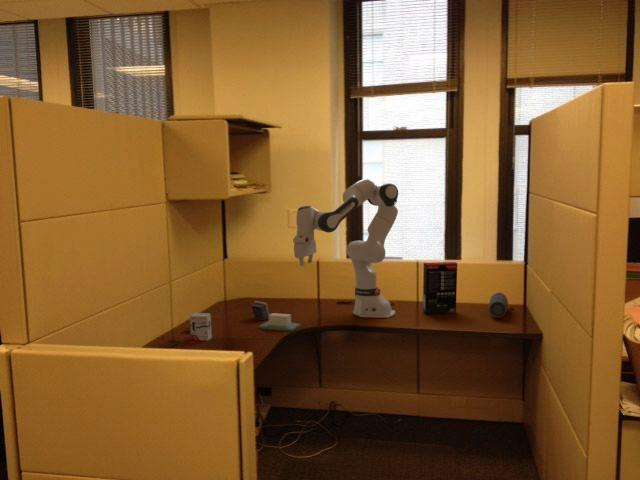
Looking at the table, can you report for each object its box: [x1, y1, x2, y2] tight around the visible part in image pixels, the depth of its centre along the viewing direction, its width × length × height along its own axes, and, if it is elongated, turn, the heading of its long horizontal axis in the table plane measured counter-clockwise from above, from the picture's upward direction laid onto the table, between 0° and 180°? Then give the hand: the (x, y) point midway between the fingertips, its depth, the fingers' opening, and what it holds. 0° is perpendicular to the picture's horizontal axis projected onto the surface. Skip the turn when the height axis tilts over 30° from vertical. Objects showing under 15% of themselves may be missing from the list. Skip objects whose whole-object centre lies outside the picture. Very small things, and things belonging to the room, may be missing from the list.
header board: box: [258, 320, 302, 332], centre depth 284 cm, size 18×10×5 cm, turn 67°
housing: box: [268, 312, 292, 327], centre depth 284 cm, size 10×5×5 cm, turn 67°
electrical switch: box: [251, 300, 271, 321], centre depth 302 cm, size 9×5×9 cm, turn 47°
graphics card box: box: [422, 261, 458, 315], centre depth 305 cm, size 17×7×27 cm, turn 98°
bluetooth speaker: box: [488, 292, 509, 318], centre depth 300 cm, size 23×9×10 cm, turn 161°
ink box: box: [189, 312, 213, 342], centre depth 267 cm, size 8×5×12 cm, turn 81°
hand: (306, 264), depth 295 cm, fingers open, 8 cm apart
